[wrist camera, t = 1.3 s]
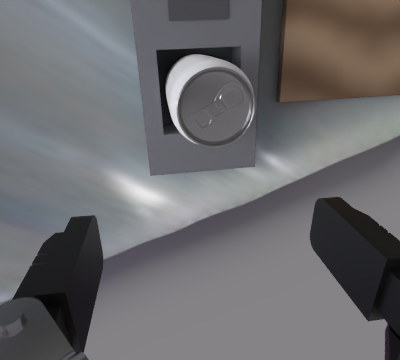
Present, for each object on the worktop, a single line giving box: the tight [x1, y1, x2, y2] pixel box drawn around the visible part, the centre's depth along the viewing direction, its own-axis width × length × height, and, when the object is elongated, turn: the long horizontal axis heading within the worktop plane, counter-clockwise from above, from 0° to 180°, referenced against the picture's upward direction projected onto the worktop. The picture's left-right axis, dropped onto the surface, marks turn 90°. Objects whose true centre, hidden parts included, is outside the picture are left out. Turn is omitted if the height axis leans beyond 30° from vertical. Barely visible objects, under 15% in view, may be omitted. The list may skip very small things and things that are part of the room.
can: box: [165, 54, 255, 148], centre depth 26 cm, size 6×6×12 cm
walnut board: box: [277, 0, 400, 102], centre depth 31 cm, size 16×16×1 cm
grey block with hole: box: [130, 0, 262, 176], centre depth 28 cm, size 24×11×5 cm, turn 2°
